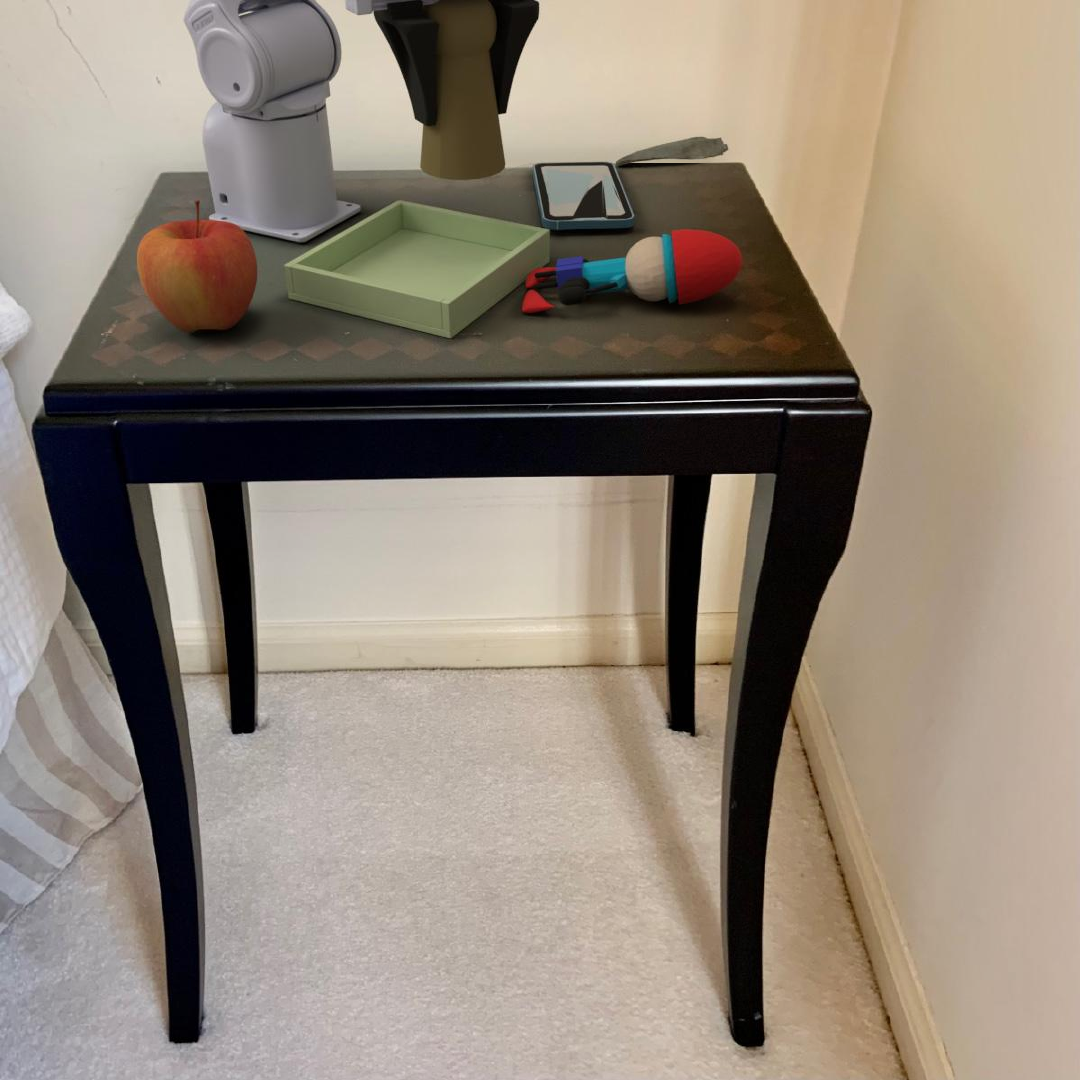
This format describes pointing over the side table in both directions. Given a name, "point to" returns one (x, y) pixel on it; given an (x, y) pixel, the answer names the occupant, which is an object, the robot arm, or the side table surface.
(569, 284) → the toy figure
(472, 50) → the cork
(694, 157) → the stone
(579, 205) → the smartphone
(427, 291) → the spice tray
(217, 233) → the apple
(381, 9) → the robot arm
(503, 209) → the side table surface
